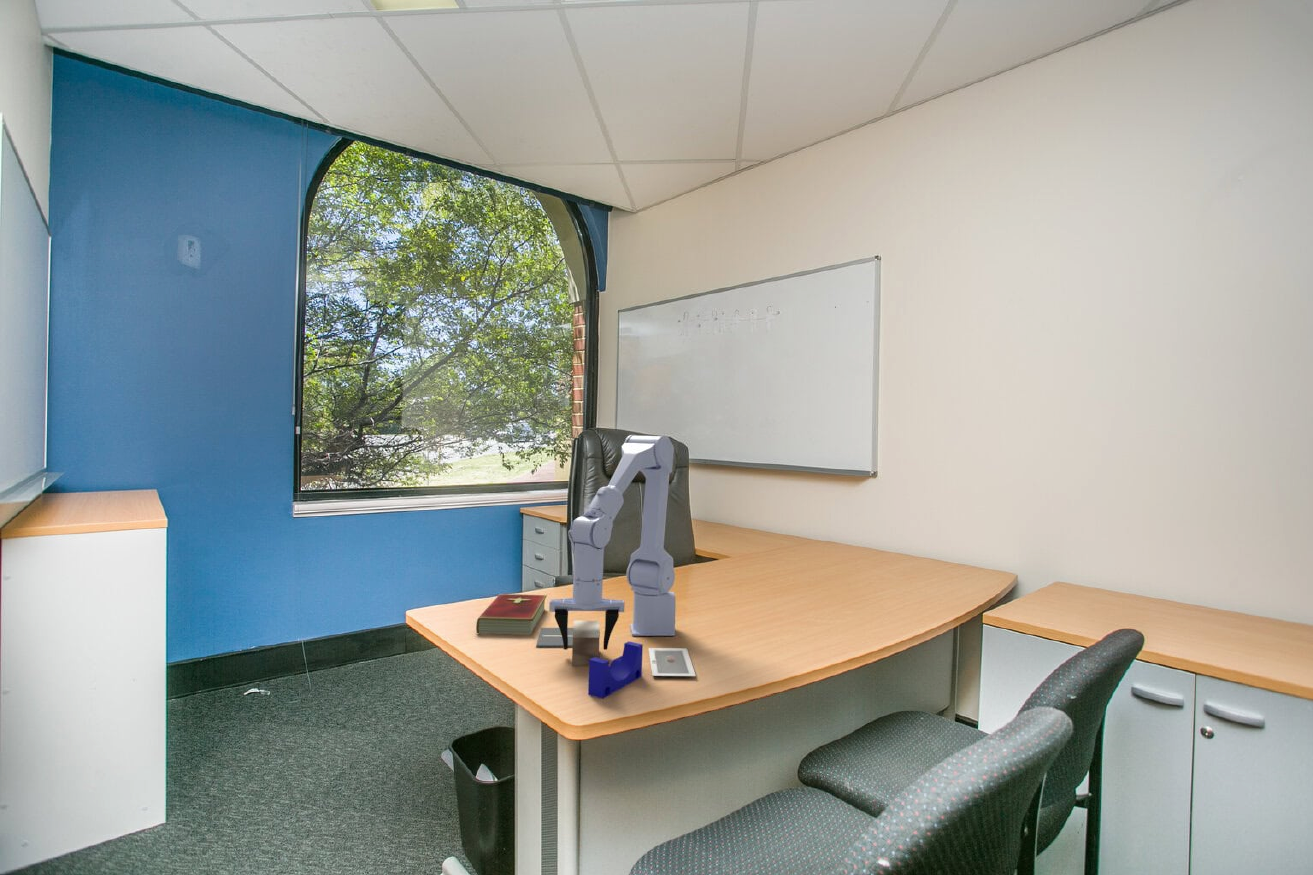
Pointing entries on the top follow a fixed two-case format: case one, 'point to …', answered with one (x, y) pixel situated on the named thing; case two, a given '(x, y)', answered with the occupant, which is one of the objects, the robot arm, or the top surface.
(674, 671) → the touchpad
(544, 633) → the mat
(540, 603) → the hardcover book
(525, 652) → the top surface
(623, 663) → the blue cradle bracket
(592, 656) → the card box
